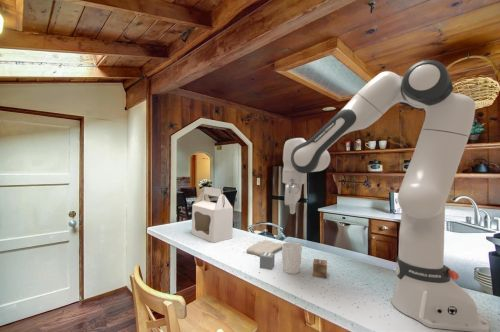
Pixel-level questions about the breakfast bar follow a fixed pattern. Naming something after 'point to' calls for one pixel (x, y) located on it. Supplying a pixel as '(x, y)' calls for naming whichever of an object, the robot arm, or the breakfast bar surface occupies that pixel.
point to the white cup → (291, 257)
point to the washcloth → (264, 248)
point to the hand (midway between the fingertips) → (292, 213)
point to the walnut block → (320, 268)
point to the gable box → (212, 216)
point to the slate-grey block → (267, 260)
